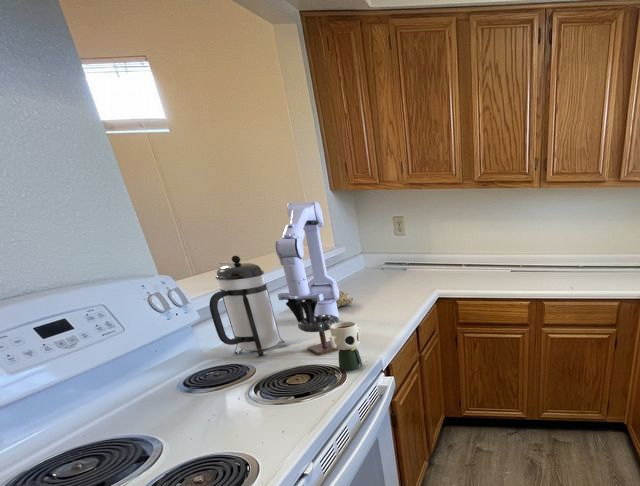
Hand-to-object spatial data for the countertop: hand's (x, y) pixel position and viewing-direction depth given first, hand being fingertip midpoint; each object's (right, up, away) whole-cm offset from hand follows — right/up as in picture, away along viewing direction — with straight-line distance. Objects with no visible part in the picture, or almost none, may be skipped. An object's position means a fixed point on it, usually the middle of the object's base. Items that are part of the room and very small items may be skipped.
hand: (306, 322), depth 133 cm
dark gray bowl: (+4, 0, -1) cm, 5 cm away
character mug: (+19, -15, -13) cm, 28 cm away
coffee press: (-16, -9, +2) cm, 19 cm away
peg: (+5, -8, +2) cm, 10 cm away
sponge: (-11, +12, +49) cm, 52 cm away
